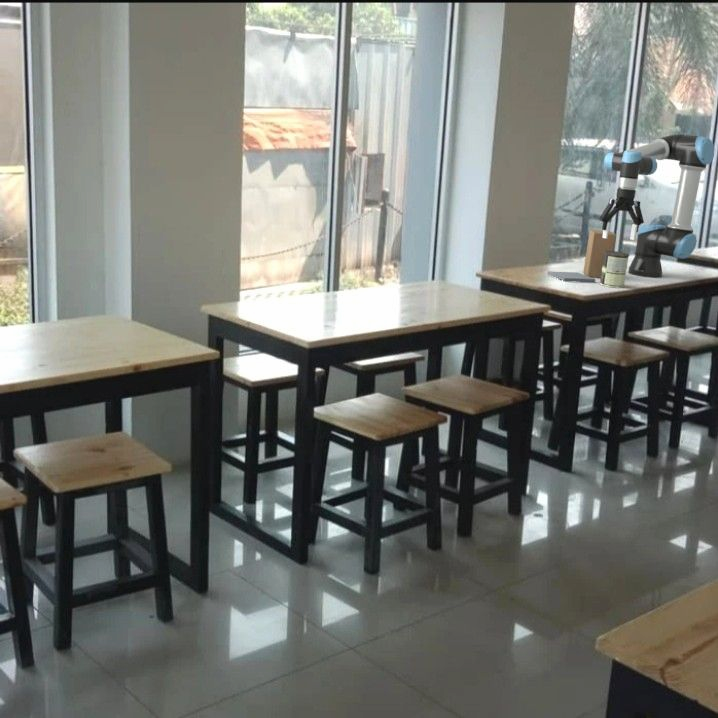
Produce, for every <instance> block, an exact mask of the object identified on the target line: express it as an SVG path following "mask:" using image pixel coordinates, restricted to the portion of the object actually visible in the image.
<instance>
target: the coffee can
mask: <svg viewBox="0 0 718 718" xmlns="http://www.w3.org/2000/svg"><path fill="white" fill-rule="evenodd" d="M629 257H630V254H629V253H626V252H622V251H615V250H614V251H605V252H604V260H603V266H602V273H601V278H599V279H600V281H599V285H601V286H603V287H607V288H612V287H613V288H614V289H622V287H623V288H624V287H625V280H626V274H627V269H628V263H629Z"/></svg>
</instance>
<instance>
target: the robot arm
mask: <svg viewBox="0 0 718 718" xmlns="http://www.w3.org/2000/svg"><path fill="white" fill-rule="evenodd" d="M714 157H715V145H714V142H713V141H712V140H711V139H710V138H709V137H706V136H702V135H701V136H700V135H689V134H681V133H680V134H678V133H677V134H671V135H667V136H662V137H659V138H657V139H654V140H653V141H652V142H651V143H647V144H645V145H641V146H638V147H634V148H632V149H628V150H624V151H621V152H608V153H607V154H606V155H605V157H604V163H603V165H604V168H605V169H606V170H608V171H612V172H620V173H619V177H618V183H617V186H618V188H617V190H616V199H613V198H609V200H608V202H607V203H608V204H606V207H605V208H604V210H603V212H602V213H601V215H600V217H599V218H598V220H599V221H601V222H602V228H601V229H602V230H601V231H603V236H602V238H605V239H607V237H608V231H609V229H610V223H609V221H610V222H611V220H612V219H613V217H614V216H615V215H616V214H617V213H618V212H620V211H622V212H628V214H629V217H630V218H631V220H632V221H633V222H632V224H631V230H630V236H629V240H631V241H635V240H636V244H635V245H636V246H635V253H634V257H633V259H632V261H631V262H630V265H629V267H628V273H629V274H631V273H632V274H631V275H635V274H636V275H635V276H640V275H641V276H640V277H646V276H649V277H650V278H659V277H658V276H661V277H662V275H663V269H662V268H663V267H662V263H661V257H662V255H663V256H667V257H671V258H674V259H687V258H689V257H690V256H691V255H692V254H693V253H694V250H696V249H695V248H696V246H697V241H698V240H697V236H696V234H694V228H693V227H692V221H693V218H694V217H693V216H694V211H695V206H696V201H697V195H698V191H699V185H700V180H701V176H702V173H703V171H705V170H706V169H707V165H710V164H712V162H713V160H714ZM664 160H671V161H672V160H673V161H677V162H678V166H679V168H680V169H681V171H680V176H679V177H680V178H679V181H678V186H677V189H676V190H677V191H676V195H675V196H676V197H675V200H674V201H675V203H674V206H673V212H672V217H671V222H670V223H669V224H667V226H666V225H662V224H661V225H659V224H657V225H656V224H655V225H654V224H645V225H644V223H645V221H644V217H643V213H642V209H641V201H640V200H634V199H635V198H636V194H637V193H636V192H637V191H636V189H637V188H638V181H639V180H638V179H639V175H641V176H642V175H643V176H650V175H654V173H656V171H657V169H658V162H657V161H664ZM633 206H634V208H633ZM642 224H643V225H642ZM636 237H637V239H636Z"/></svg>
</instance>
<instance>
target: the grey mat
mask: <svg viewBox="0 0 718 718" xmlns="http://www.w3.org/2000/svg"><path fill="white" fill-rule="evenodd" d="M547 274H548V275H547ZM547 274H546V275H547V276H549V275H551V276H550V277H552V276H553V277H552V278H554V277H556V278H555V279H557V278H558V279H557V280H559V279H561V280H560V281H562V280H563V281H562V282H564V281H579V282H578V283H592V284H593V283H596V278H591V277H588V276H586V275H585V274H584V273H580V272H574V271H573V272H572V271H547Z"/></svg>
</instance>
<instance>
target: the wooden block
mask: <svg viewBox="0 0 718 718" xmlns="http://www.w3.org/2000/svg"><path fill="white" fill-rule="evenodd" d="M602 236H603V230H598V229H589V232H588V238H587V246H586V253H585V260H584V265H583V273H582V274H583V275H586V276H588V277H592V278H593V279H601V273H602V266H603V260H604V252H605V251H615V247H616V246H615V245H616V242H617V241H616V239H617V234H616V233H614V232H612V231H609V230H608V237H607V239H605V238H602Z"/></svg>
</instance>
